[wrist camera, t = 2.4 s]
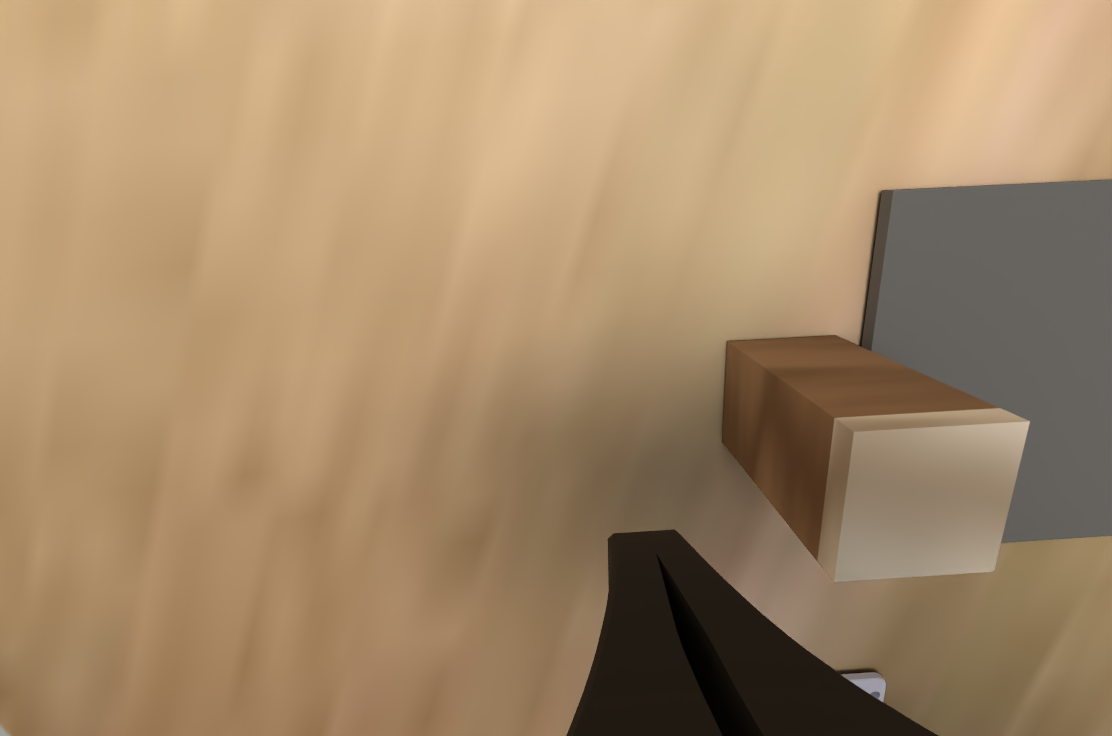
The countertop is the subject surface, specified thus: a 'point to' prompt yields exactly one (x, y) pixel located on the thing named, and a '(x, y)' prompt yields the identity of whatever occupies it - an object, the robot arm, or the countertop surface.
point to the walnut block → (871, 457)
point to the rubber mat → (1011, 328)
